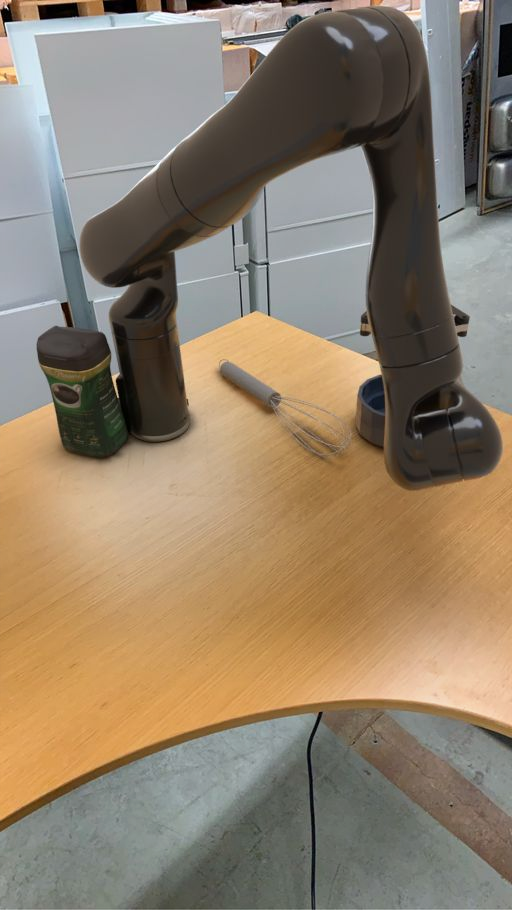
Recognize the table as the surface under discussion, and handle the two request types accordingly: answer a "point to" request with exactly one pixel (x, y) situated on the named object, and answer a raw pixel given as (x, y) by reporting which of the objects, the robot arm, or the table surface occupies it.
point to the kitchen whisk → (273, 399)
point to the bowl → (371, 410)
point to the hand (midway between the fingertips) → (406, 293)
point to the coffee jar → (82, 390)
